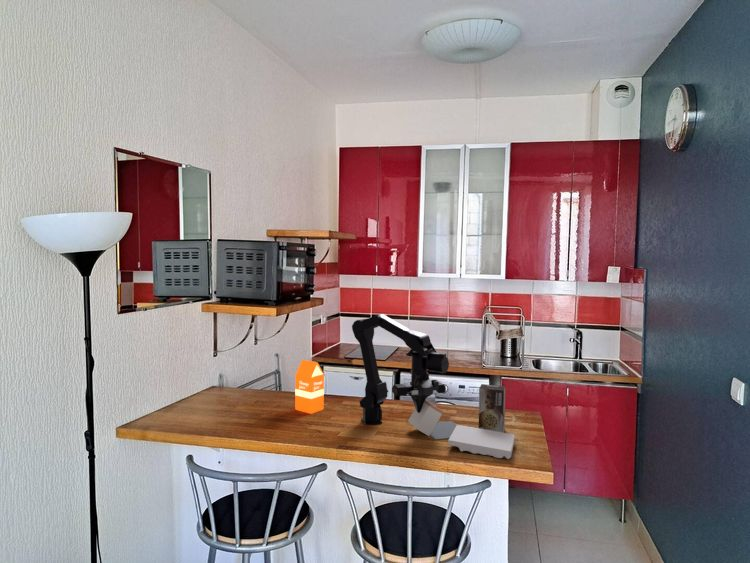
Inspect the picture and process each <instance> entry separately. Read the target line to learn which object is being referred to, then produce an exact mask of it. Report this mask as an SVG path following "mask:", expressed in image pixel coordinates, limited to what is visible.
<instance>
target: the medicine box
mask: <svg viewBox="0 0 750 563" xmlns="http://www.w3.org/2000/svg"><path fill="white" fill-rule="evenodd" d="M425 400H427V401H428V402H430V403H431V404H433V405H435V406H436V395H435V394H432V395H431V396H428V397H427V398H426V399H425Z"/></svg>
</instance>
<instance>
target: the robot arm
mask: <svg viewBox="0 0 750 563" xmlns="http://www.w3.org/2000/svg"><path fill="white" fill-rule="evenodd" d="M378 327H380V328H382V329H383V330H384V331H386V332H388V333H390V334H392V335H393V336H395V337H397V338H399V339H401V341H403V342H404V344H405V345H406V346H407V347H408V348H409V349H410V350H409V351H408V352H407V353H406V354H405V355H406V356H407V357H411V370H409V374H411V377H410V380H411V381H410V382H409V385H410V386H406V385H405V384H403V383H399V384H396V383H395V384H393V386H392V387H391V392H392V393H393V394H394V395H395V396H397V397H404V396H405V397H406V396H407V395H408V396H410V399H412V402H413V404H414V409H415V408H416V410H417V412H418V413H420V411H421V409H422V406H423V404H424V401H425V399H426V398H427V397H428V396H431V395H434V391H436V393H438V394H445V393H446V392H447V387H446V385H445V384H444V383H442V382H440V381H439V380H438V379H431V378H430V374H429V372H434V373H439V374H447V372H448V370H449V366H450V362H449V359H448V357H447V353H444V352H441V353H440V352H437V350H436V349H435V347H434V345H433V344H432V342H431V339H430V336H429V334H426V333H424V332H421V331H417V330H413V329H410V328H408V327H406V326H405V325H403V324H401V323H399V322H397V321H395V320H394V319H393V318H390V317H389V316H387V315H386V314H384V313H380V314H374V316H371V317H369V318H363V319H361V318H360V319H356V320H354V321H353V323H352V325H351V330H352V333H353V336H354V338H355V340H356V341H357V342H358V343H359V346H360V351H361V356H362V362H363V366H364V372H365V378H366V384H365V388H364V393H365V394H364V397H363V398H362V399H361V400H359V406H360V408H362V417H361V421H362V422H363V423H364V424H365V425H376V424H377V425H378V424H383V421H382V420H383V409H382V405H383V404H384V402H385V400H386V399H387V397H388V393H389V390H388V385H387V381H383V380H382V379H381V378H380V373H379V368H378V364H377V357H376V353H375V349H374V348H375V347H374V343H373V340H374V336H375V329H377V328H378ZM428 371H429V372H428Z"/></svg>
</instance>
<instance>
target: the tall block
mask: <svg viewBox="0 0 750 563" xmlns="http://www.w3.org/2000/svg"><path fill="white" fill-rule="evenodd" d="M443 413H444V411H443V410H442V409H441V408H439V407H437V406H436V404H435V405H433V404H431V403H430V402H428V401H427V400H425V401H424V404H423V406H422V409H421V411H420V413H418V412H417V410H416V408H415V407H414V410H413V412H412V413H411V415H410V417H409V418H408V420H407V422H408V423H409V424H410V425H411V426H413V427H414V428H415V429H417V430H418V431H419V432H421V433H423V434H425V435H426V436H428V437H431V436H430V434H431V432H432V431H433V429H434V427H435V426H436V424H437V422H439V421H440V418H441V417H442V416H443Z"/></svg>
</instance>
